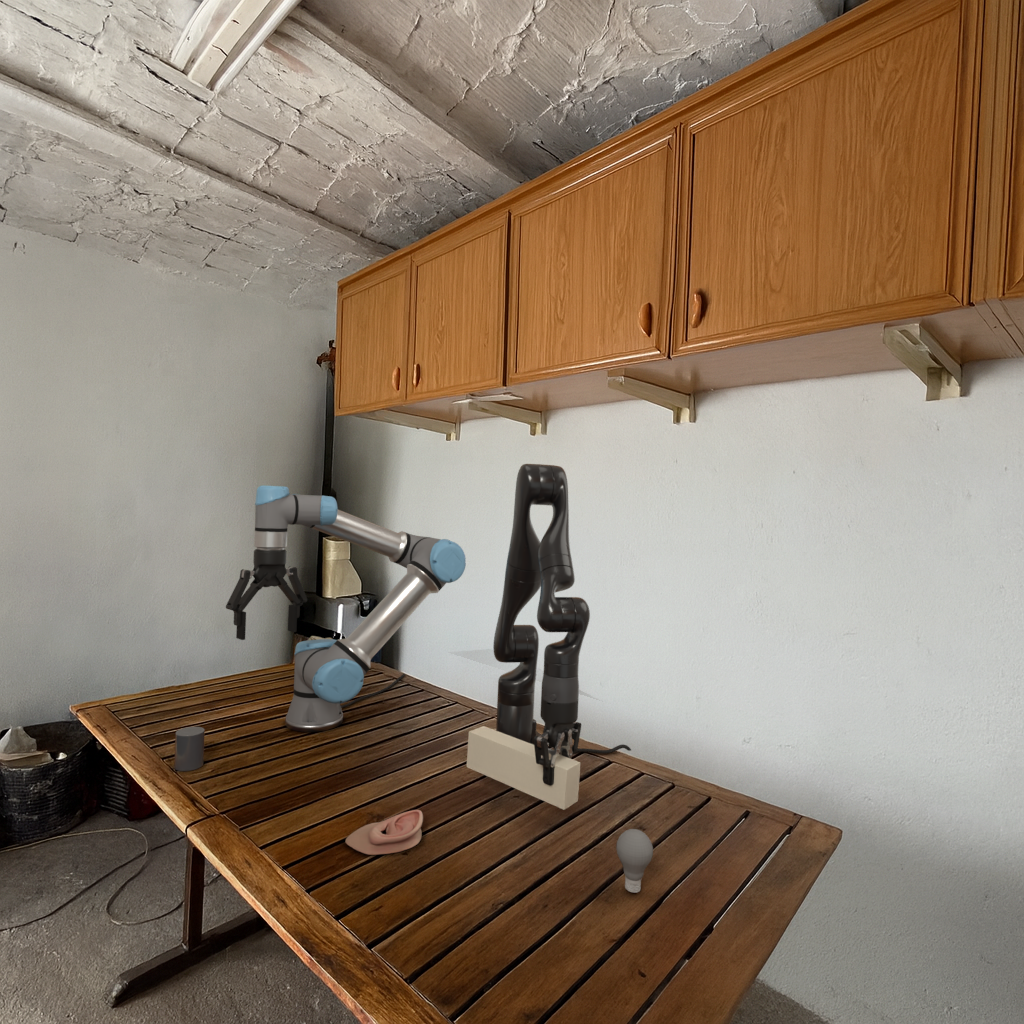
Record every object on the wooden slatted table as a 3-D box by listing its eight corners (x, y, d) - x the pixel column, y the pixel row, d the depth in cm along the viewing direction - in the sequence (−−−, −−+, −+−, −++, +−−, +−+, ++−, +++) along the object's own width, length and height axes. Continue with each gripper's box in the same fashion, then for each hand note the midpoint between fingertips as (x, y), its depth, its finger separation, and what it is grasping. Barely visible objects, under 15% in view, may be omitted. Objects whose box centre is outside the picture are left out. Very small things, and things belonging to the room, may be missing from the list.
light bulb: (610, 879, 108) (613, 822, 108) (644, 879, 109) (647, 822, 109) (619, 902, 102) (622, 840, 102) (655, 901, 103) (658, 840, 103)
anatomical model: (338, 827, 114) (365, 799, 125) (337, 849, 114) (364, 818, 125) (408, 839, 111) (429, 808, 122) (407, 861, 111) (428, 828, 122)
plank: (466, 767, 140) (468, 731, 140) (481, 760, 144) (483, 725, 143) (564, 810, 124) (566, 769, 123) (578, 801, 127) (580, 762, 127)
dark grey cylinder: (196, 758, 150) (197, 724, 150) (208, 765, 146) (209, 731, 146) (169, 765, 145) (170, 731, 145) (181, 773, 142) (182, 738, 142)
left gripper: (306, 545, 167) (303, 625, 167) (212, 549, 148) (209, 639, 148) (323, 548, 162) (320, 630, 163) (228, 551, 143) (225, 645, 143)
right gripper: (564, 684, 136) (560, 763, 136) (523, 699, 124) (519, 785, 125) (594, 692, 131) (590, 774, 131) (554, 708, 120) (551, 797, 120)
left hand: (267, 635), depth 155 cm, fingers open, 13 cm apart
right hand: (556, 779), depth 128 cm, fingers closed on plank, 5 cm apart
